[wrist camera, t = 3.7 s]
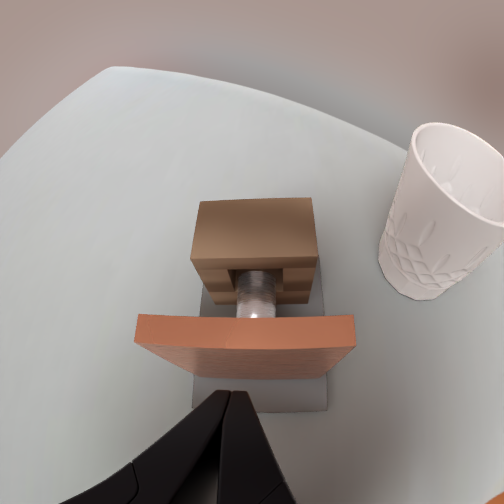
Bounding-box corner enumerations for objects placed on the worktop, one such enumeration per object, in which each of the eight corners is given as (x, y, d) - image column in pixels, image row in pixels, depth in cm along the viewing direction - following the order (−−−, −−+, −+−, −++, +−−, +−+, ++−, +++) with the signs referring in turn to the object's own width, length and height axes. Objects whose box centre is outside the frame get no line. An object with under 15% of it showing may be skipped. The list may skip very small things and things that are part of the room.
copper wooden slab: (319, 378, 15) (356, 345, 8) (200, 376, 16) (133, 341, 9) (316, 299, 18) (338, 213, 11) (206, 300, 18) (159, 219, 11)
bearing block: (325, 410, 15) (351, 409, 9) (194, 408, 16) (150, 403, 10) (317, 259, 20) (329, 197, 15) (208, 261, 21) (182, 202, 16)
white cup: (372, 211, 22) (403, 108, 14) (452, 231, 21) (504, 145, 12) (365, 299, 18) (422, 202, 10) (458, 316, 17) (542, 242, 8)
